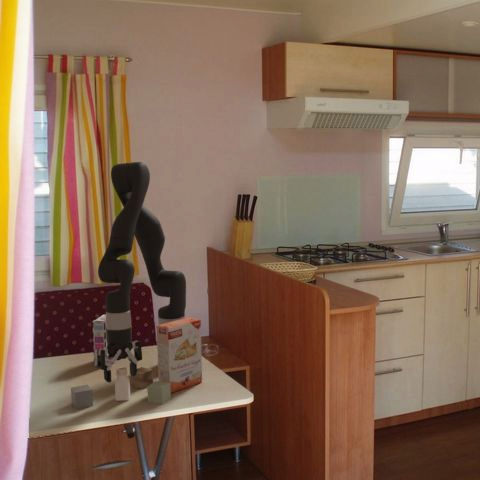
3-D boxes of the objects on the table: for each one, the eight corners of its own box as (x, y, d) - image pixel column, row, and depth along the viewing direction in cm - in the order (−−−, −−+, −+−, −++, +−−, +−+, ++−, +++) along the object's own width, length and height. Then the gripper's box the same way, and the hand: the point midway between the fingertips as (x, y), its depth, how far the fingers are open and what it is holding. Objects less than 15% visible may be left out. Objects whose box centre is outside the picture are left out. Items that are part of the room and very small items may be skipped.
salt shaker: (115, 401, 199) (113, 370, 198) (117, 396, 203) (116, 366, 202) (128, 401, 199) (127, 370, 198) (130, 396, 203) (129, 366, 202)
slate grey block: (88, 400, 201) (87, 384, 200) (92, 405, 196) (91, 389, 196) (71, 403, 198) (70, 387, 198) (75, 409, 194) (74, 392, 193)
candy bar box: (107, 367, 232) (105, 321, 230) (93, 367, 233) (91, 321, 231) (117, 357, 243) (115, 314, 241) (104, 357, 244) (102, 313, 242)
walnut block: (142, 382, 216) (141, 367, 216) (153, 384, 213) (152, 369, 213) (131, 386, 212) (130, 371, 212) (142, 389, 209) (141, 373, 209)
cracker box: (170, 394, 204) (168, 327, 201) (158, 390, 208) (155, 324, 205) (203, 382, 214) (201, 318, 211) (190, 378, 218) (188, 316, 215)
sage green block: (156, 396, 202) (155, 380, 202) (170, 398, 200) (170, 382, 200) (148, 402, 198) (147, 386, 197) (162, 404, 196) (162, 388, 195)
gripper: (132, 319, 206) (134, 370, 207) (91, 328, 196) (93, 381, 198) (145, 323, 200) (147, 376, 202) (104, 332, 191) (106, 387, 192)
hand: (120, 378), depth 200 cm, fingers open, 8 cm apart
